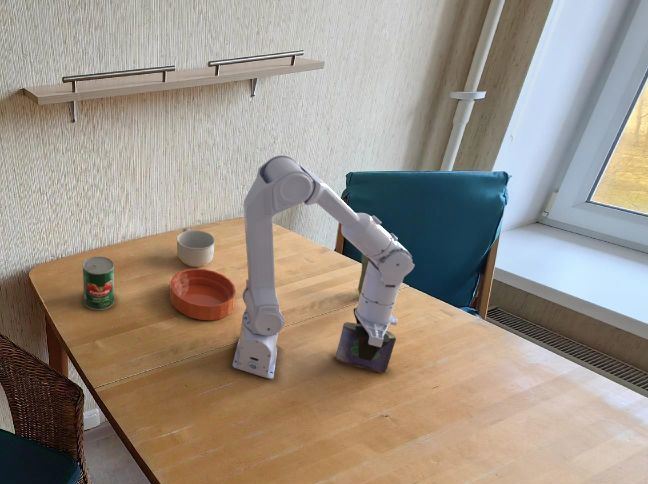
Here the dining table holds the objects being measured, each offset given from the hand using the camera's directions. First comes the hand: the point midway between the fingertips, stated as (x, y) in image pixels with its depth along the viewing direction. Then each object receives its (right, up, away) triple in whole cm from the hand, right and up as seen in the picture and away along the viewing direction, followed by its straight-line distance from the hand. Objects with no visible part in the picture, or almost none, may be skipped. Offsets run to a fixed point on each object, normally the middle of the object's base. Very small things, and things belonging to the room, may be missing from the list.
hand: (363, 350), depth 88 cm
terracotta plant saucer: (-28, +4, +22) cm, 36 cm away
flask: (0, -3, +1) cm, 4 cm away
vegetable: (+13, +5, +21) cm, 25 cm away
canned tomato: (-55, +4, +23) cm, 59 cm away
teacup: (-26, +11, +41) cm, 50 cm away
